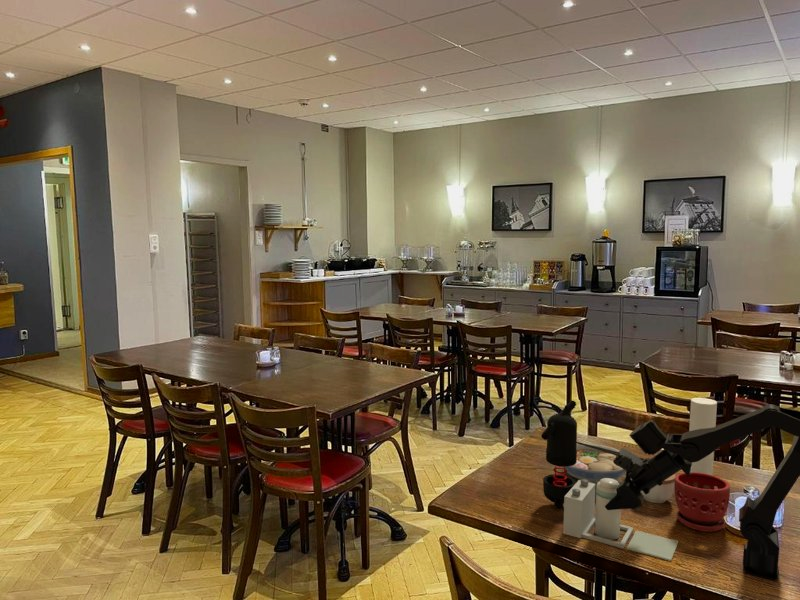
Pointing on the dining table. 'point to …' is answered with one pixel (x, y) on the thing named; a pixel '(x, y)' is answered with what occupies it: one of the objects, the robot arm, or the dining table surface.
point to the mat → (653, 545)
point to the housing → (585, 514)
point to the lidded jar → (661, 491)
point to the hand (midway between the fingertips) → (610, 501)
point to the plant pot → (701, 501)
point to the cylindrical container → (701, 419)
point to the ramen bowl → (595, 463)
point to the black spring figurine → (560, 453)
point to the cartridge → (607, 519)
